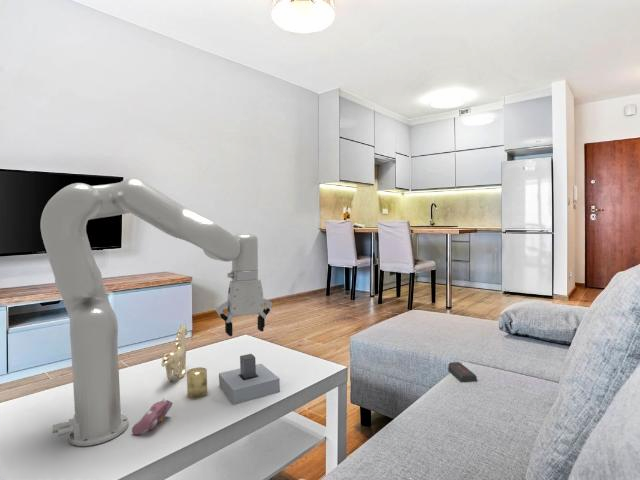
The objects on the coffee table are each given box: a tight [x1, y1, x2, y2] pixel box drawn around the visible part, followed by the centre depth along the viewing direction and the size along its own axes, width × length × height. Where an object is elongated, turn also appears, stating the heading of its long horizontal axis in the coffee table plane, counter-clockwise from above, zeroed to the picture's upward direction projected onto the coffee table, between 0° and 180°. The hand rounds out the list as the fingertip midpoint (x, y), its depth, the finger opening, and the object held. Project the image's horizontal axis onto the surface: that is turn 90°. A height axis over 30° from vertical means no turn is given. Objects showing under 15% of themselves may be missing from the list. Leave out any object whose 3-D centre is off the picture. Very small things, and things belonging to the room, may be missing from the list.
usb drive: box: [446, 361, 478, 383], centre depth 121 cm, size 5×12×3 cm, turn 5°
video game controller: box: [131, 398, 173, 435], centre depth 93 cm, size 10×5×7 cm, turn 170°
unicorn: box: [161, 320, 188, 382], centre depth 121 cm, size 20×4×17 cm, turn 0°
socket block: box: [218, 363, 281, 405], centre depth 113 cm, size 14×14×4 cm
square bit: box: [239, 353, 257, 380], centre depth 113 cm, size 4×4×10 cm
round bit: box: [186, 366, 209, 400], centre depth 110 cm, size 6×6×7 cm
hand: (245, 332), depth 112 cm, fingers open, 9 cm apart
